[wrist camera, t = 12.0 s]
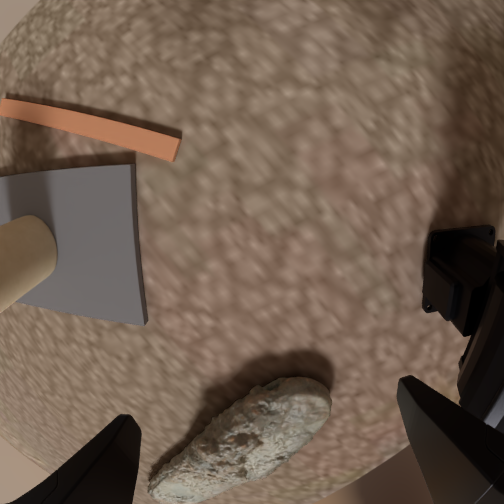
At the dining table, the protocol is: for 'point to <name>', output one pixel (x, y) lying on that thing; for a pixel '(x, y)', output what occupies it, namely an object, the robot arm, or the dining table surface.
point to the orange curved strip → (94, 127)
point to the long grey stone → (245, 441)
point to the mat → (84, 239)
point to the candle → (24, 257)
